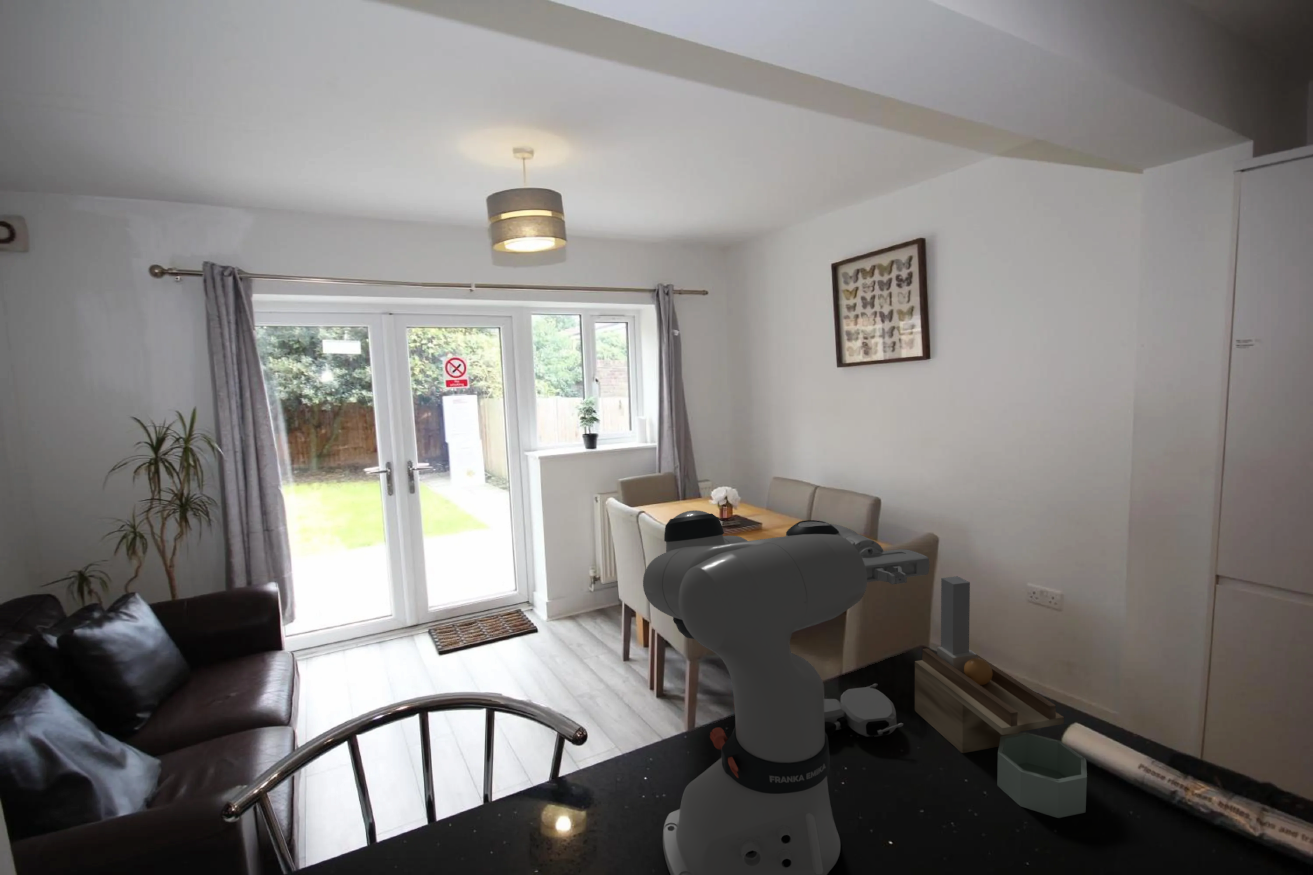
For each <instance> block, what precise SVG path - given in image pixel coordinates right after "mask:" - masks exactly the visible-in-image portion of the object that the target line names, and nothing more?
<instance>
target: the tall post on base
mask: <svg viewBox="0 0 1313 875" xmlns="http://www.w3.org/2000/svg"><path fill="white" fill-rule="evenodd" d="M970 587H971V582H970V581H968V580H966V579H963V578H962V577H960V576H958V575H956V576H949V577H948V576H947V577H941V581H940V588H941V589H940V646H937V647H936V655H938V656H939V657H941V658H942V659H943V660H945V661H946V662H948V663H949V664H950V665H952V666H953V667H955V668H956V669H958V670H959V671H960V672H962V673H964V666H965V663H966V662H967V661H968V660H970V659H972V658H977V655H978V654H977V653H975V652H974V651H973V650H971V649H970V611H971V610H970V605H971V602H970V601H971V600H970V599H971V598H970V597H971V596H970V595H971V594H970V592H971V588H970Z"/></svg>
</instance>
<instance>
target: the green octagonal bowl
mask: <svg viewBox="0 0 1313 875" xmlns="http://www.w3.org/2000/svg"><path fill="white" fill-rule="evenodd" d="M997 749H998V750H997V779H996V780H997V781H996V782H997V784H996V785H997V787H998V788H999V789H1001V790H1002V791H1003V792H1004V793H1005V795H1007V796H1009V798H1011V799H1012V800H1013V801H1014V803H1016V804H1017V805H1019V806H1020V807H1022V808H1025V809H1028V810H1031V811H1035V812H1037V813H1041V814H1043V815H1047V816H1050V817H1053V818H1057V819H1061V818H1065V817H1066V818H1067V817H1070V816H1075V815H1080V814H1084V813H1087V812H1086V811H1087V809H1086V806H1087V782H1088V776H1087V775H1088V773H1087V772H1088V771H1087V758H1085V757H1084V756H1082V755H1081V754H1080V753H1078V752H1076V751H1075V750H1074V749H1073V748H1071V747H1070V746H1068V745H1067V744H1066V743H1064V742H1063V741H1061V740H1059V739H1055V738H1050V737H1047V736H1046V737H1045V736H1042V735H1038V734H1035V733H1031V732H1028V731H1027V732H1026V731H1023V732H1019V733H1018V734H1013V735H1007V736H1002V737H1001V738H1000V743H999V747H998V748H997Z"/></svg>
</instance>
